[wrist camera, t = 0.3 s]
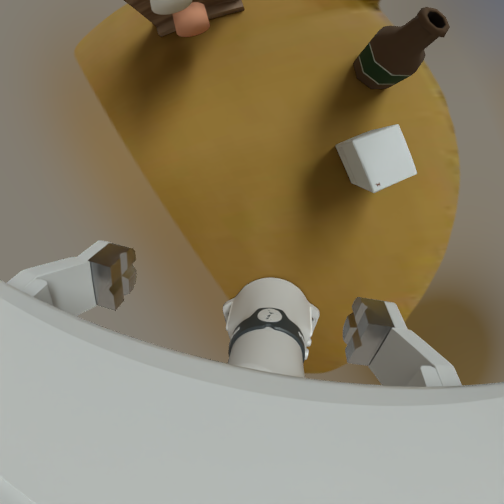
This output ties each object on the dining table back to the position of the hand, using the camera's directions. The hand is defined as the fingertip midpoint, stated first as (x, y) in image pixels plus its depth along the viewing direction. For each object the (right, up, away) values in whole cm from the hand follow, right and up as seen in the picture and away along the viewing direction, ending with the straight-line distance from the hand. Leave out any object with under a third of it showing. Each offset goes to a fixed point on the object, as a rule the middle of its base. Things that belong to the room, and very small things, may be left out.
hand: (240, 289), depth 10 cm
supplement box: (+19, +17, +34) cm, 42 cm away
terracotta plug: (-9, +39, +22) cm, 46 cm away
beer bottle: (+21, +32, +28) cm, 48 cm away
